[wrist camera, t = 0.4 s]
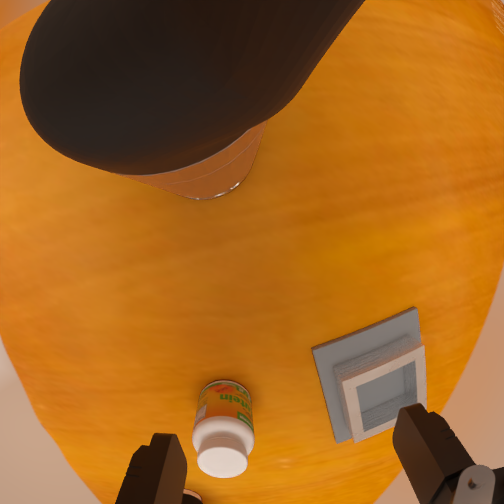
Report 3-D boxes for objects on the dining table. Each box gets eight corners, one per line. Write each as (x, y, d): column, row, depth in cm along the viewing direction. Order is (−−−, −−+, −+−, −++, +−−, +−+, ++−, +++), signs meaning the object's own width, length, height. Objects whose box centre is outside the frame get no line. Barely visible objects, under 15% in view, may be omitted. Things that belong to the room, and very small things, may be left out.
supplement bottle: (260, 392, 29) (270, 455, 20) (235, 425, 30) (236, 489, 20) (214, 370, 29) (206, 431, 19) (190, 406, 29) (177, 468, 19)
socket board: (310, 345, 29) (321, 366, 25) (411, 305, 30) (434, 317, 25) (334, 437, 31) (344, 461, 27) (419, 400, 31) (436, 418, 27)
